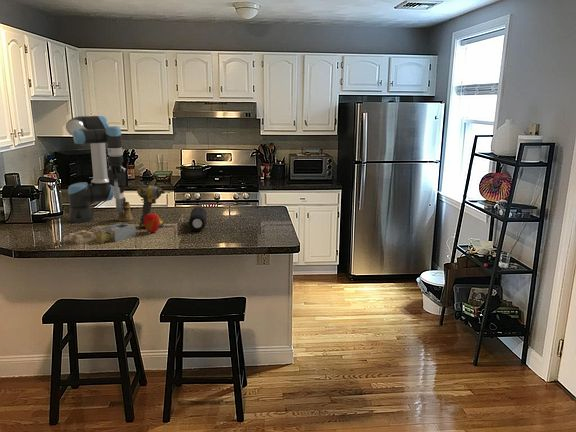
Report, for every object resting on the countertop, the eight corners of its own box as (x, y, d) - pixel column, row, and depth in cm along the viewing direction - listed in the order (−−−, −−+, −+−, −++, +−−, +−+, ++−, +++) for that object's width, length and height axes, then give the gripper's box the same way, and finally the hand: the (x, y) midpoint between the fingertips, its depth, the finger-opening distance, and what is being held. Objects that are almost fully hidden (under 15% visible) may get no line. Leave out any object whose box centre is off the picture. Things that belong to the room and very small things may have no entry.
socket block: (102, 238, 264) (101, 228, 263) (122, 232, 276) (122, 222, 274) (115, 241, 259) (114, 231, 257) (136, 235, 270) (135, 225, 269)
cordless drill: (167, 229, 282) (165, 188, 276) (136, 228, 286) (133, 186, 280) (174, 226, 291) (172, 185, 284) (144, 224, 294) (141, 184, 288)
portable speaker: (191, 221, 301) (190, 206, 299) (207, 221, 303) (206, 205, 300) (188, 232, 277) (188, 215, 274) (206, 232, 278) (205, 215, 276)
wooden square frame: (69, 241, 260) (68, 234, 259) (84, 237, 267) (83, 230, 266) (80, 243, 255) (79, 236, 254) (94, 239, 262) (93, 232, 261)
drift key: (96, 241, 258) (95, 234, 256) (112, 237, 266) (112, 229, 265) (102, 243, 255) (101, 235, 254) (118, 238, 264) (117, 230, 263)
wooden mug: (113, 223, 296) (111, 195, 291) (120, 218, 309) (118, 190, 305) (128, 223, 296) (126, 195, 292) (134, 218, 309) (132, 190, 305)
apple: (160, 233, 274) (158, 213, 271) (143, 234, 272) (142, 214, 269) (160, 229, 282) (159, 209, 280) (145, 230, 281) (143, 210, 278)
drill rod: (115, 211, 265) (112, 179, 261) (120, 210, 268) (117, 178, 264) (119, 212, 263) (116, 180, 259) (124, 210, 266) (122, 179, 262)
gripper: (99, 155, 259) (103, 197, 265) (120, 157, 251) (123, 200, 257) (111, 153, 265) (114, 194, 271) (131, 155, 257) (134, 198, 263)
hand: (118, 197), depth 264 cm, fingers closed on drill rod, 3 cm apart
